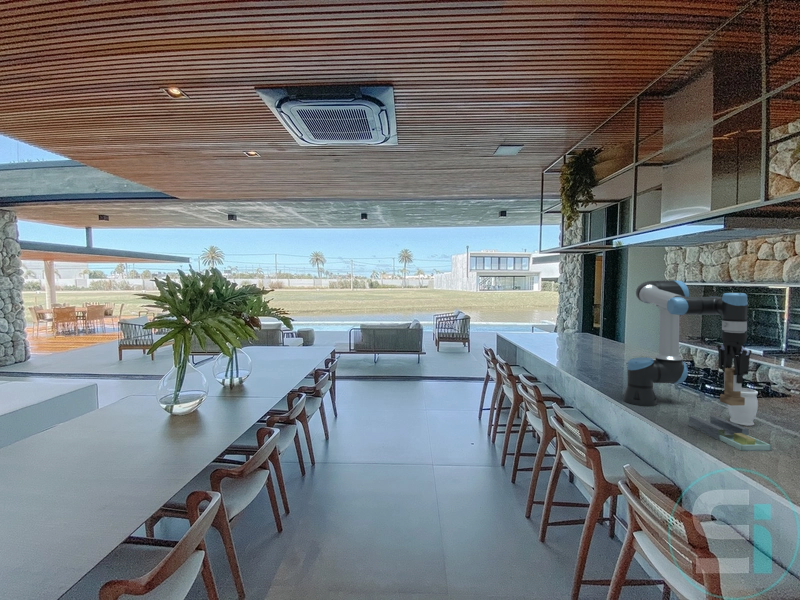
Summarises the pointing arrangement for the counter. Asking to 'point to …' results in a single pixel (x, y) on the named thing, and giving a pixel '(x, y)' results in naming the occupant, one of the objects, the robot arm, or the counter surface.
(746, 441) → the yellow sponge cube
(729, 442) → the tray
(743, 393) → the jar
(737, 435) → the chip
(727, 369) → the stepped wooden block
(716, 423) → the slot board
